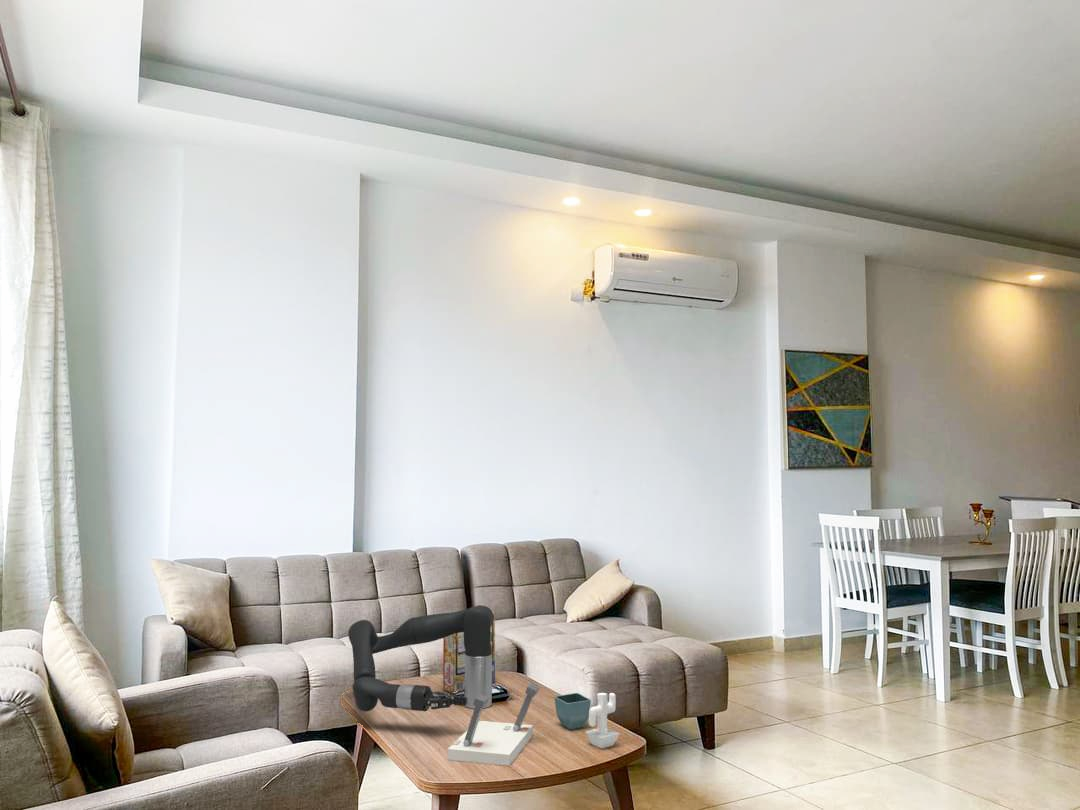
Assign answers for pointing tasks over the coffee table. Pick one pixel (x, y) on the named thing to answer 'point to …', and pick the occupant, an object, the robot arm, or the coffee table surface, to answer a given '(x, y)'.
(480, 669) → the robot arm
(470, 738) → the lever
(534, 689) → the lever
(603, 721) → the figurine
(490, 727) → the switch base
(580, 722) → the flower pot
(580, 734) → the coffee table surface
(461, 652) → the board game box
